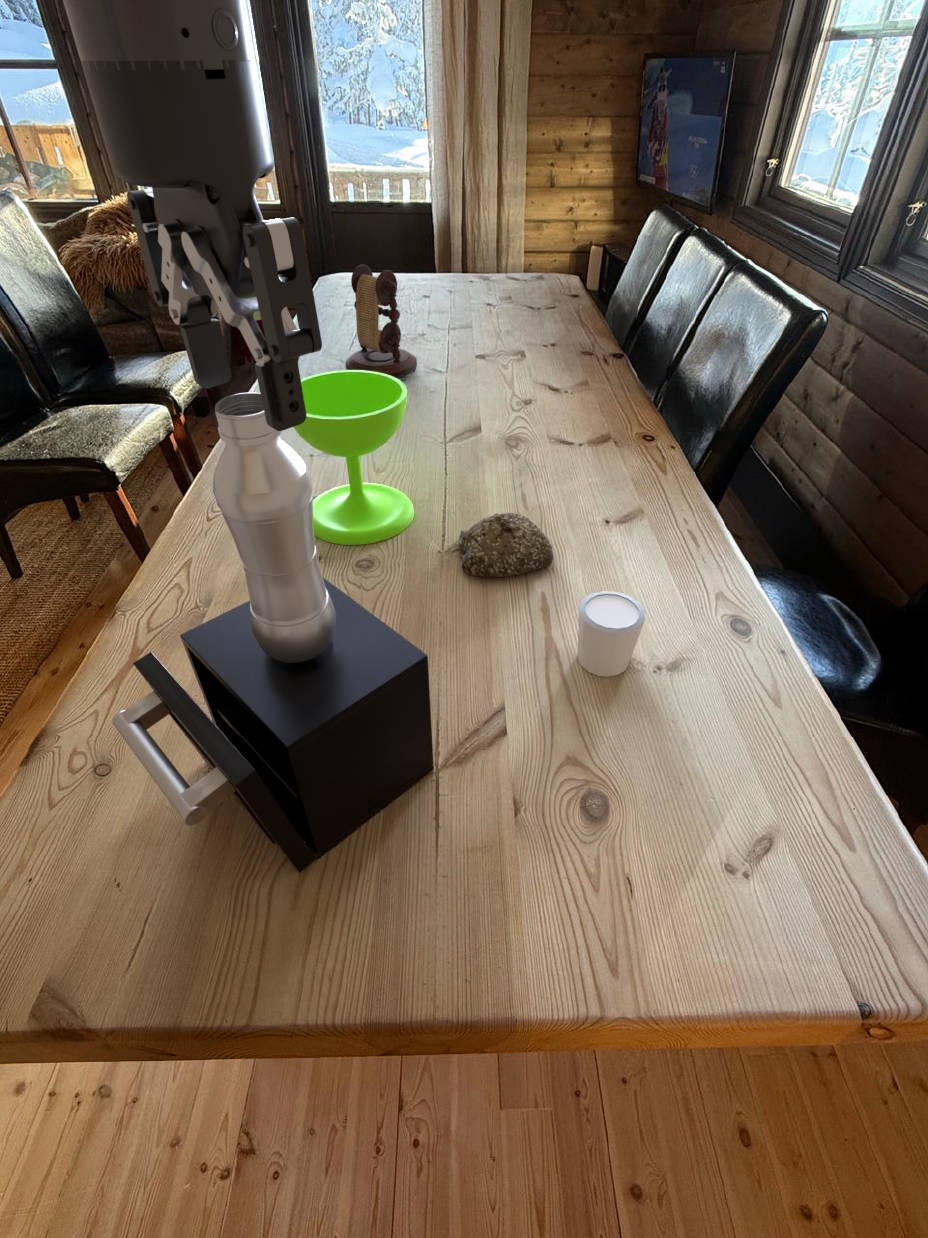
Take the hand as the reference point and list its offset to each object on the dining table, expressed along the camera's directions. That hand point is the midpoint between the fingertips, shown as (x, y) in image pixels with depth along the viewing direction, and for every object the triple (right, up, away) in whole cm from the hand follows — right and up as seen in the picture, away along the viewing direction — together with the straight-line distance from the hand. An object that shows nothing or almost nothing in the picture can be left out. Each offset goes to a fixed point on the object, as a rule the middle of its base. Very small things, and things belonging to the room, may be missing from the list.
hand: (249, 403), depth 40 cm
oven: (0, -26, +23) cm, 35 cm away
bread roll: (+18, -4, +49) cm, 52 cm away
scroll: (-4, +38, +98) cm, 105 cm away
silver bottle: (0, -15, +13) cm, 20 cm away
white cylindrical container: (+28, -18, +33) cm, 47 cm away
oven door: (-7, -31, +18) cm, 36 cm away
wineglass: (-2, +2, +56) cm, 56 cm away
